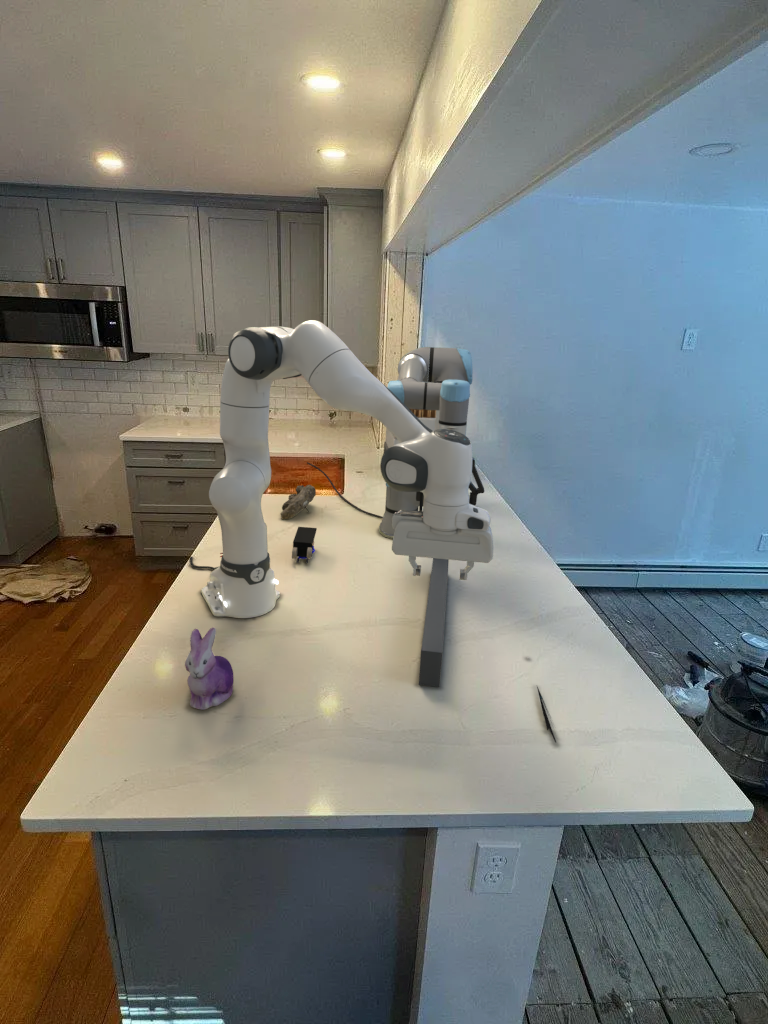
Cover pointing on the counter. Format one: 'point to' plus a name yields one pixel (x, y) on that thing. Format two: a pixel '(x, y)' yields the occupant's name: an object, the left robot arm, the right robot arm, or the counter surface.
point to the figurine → (207, 672)
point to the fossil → (298, 501)
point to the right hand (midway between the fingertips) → (444, 514)
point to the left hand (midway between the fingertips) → (439, 576)
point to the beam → (434, 625)
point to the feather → (545, 714)
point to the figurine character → (304, 543)
